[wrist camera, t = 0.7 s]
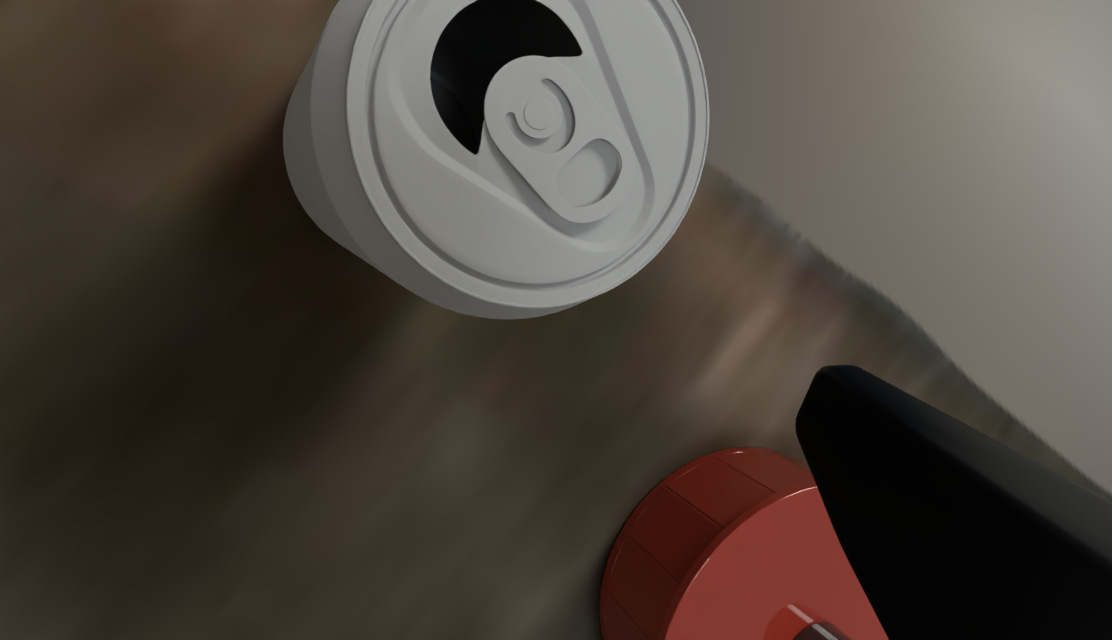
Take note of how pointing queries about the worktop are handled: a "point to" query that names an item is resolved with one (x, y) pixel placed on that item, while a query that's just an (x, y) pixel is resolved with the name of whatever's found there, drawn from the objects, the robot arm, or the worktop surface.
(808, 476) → the pot
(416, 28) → the beverage can
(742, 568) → the pot lid
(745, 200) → the worktop surface
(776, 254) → the worktop surface
